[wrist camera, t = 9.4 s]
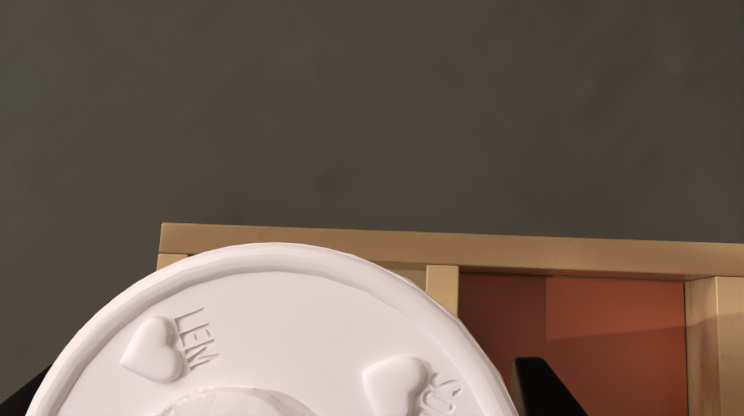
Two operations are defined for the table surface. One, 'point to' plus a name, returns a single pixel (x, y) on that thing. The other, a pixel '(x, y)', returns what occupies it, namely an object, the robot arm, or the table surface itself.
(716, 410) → the caddy
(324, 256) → the smoothie
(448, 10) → the table surface
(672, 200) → the table surface
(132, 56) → the table surface
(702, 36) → the table surface
